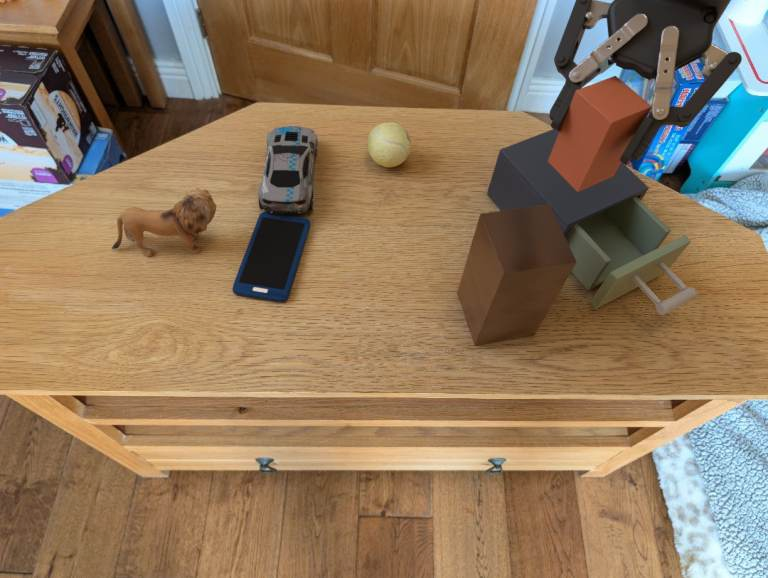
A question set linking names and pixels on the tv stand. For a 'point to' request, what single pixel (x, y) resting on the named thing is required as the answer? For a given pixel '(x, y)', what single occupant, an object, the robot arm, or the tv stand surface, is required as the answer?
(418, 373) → the tv stand surface
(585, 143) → the block
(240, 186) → the tv stand surface
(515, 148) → the cabinet
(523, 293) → the stand
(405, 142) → the tennis ball
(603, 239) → the drawer
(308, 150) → the toy car
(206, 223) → the lion figurine
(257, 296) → the cell phone
